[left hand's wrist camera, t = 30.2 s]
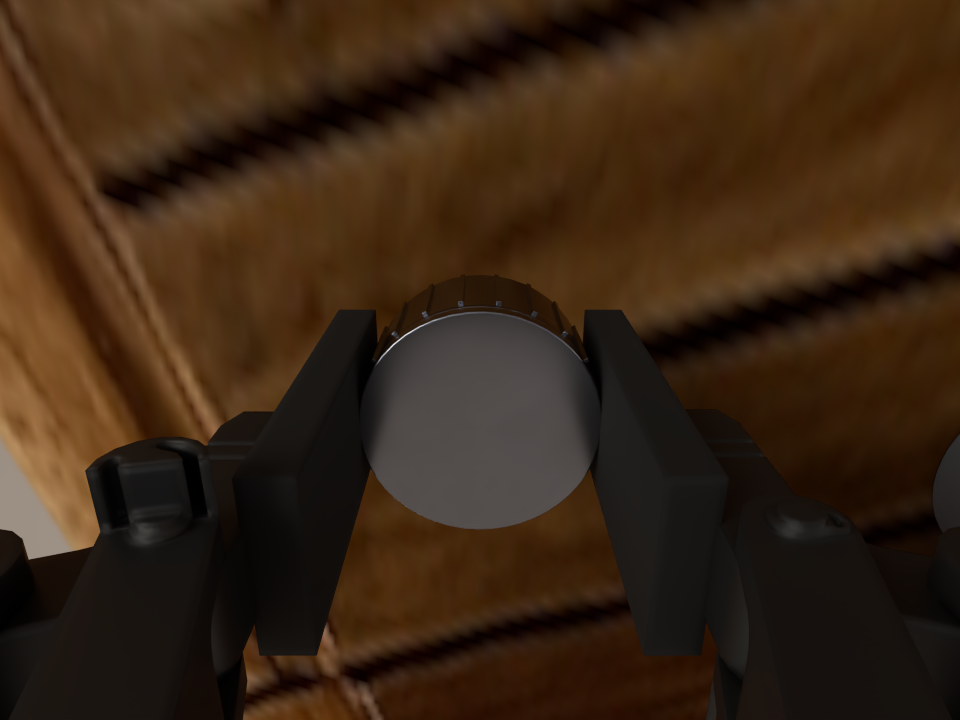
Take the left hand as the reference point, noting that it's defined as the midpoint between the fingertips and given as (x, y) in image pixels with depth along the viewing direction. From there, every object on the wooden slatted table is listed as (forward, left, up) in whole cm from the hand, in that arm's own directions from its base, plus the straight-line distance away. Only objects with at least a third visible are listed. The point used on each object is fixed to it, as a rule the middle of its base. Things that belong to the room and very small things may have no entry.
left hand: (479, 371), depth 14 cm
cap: (0, 0, +2) cm, 2 cm away
